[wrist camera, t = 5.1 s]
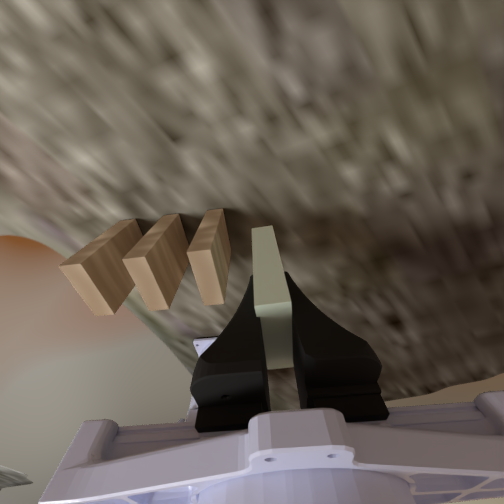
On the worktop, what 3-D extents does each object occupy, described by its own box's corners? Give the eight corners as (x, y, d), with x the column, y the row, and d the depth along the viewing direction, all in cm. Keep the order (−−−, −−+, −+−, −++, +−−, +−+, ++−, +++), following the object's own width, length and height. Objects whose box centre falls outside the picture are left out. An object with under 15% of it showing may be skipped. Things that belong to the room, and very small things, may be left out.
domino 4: (272, 225, 16) (291, 301, 9) (278, 276, 18) (296, 366, 11) (251, 228, 16) (254, 306, 9) (260, 279, 18) (267, 369, 11)
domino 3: (222, 208, 20) (210, 249, 14) (231, 251, 23) (224, 303, 16) (207, 210, 21) (186, 252, 14) (217, 252, 23) (204, 305, 16)
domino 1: (135, 218, 21) (80, 263, 14) (153, 259, 23) (114, 314, 17) (120, 220, 21) (58, 266, 14) (139, 261, 24) (95, 316, 17)
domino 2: (178, 213, 21) (144, 256, 14) (192, 255, 23) (168, 309, 16) (163, 215, 21) (121, 259, 14) (178, 256, 23) (149, 310, 16)
